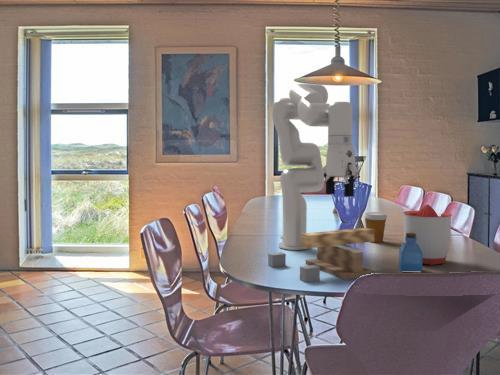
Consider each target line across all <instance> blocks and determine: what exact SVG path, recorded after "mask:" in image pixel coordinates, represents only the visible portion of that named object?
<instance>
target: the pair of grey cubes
mask: <svg viewBox="0 0 500 375" xmlns="http://www.w3.org/2000/svg"><path fill="white" fill-rule="evenodd" d="M286 256H287V255H286V253H285V252H282V251H280V252H279V251H278V252H271V253H268V256H267V258H268V262H267V265H268V267H271V268H277V267H285V266H286V265H287V264H286V259H287V257H286ZM320 273H321V270H320V267H319V266H316V265H302V266H301V265H300V266H299V280H300V281H301V282H304V283H311V282H316V281H320V279H321V278H320V277H321V276H320V275H321V274H320Z"/></svg>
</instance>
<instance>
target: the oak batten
mask: <svg viewBox="0 0 500 375" xmlns="http://www.w3.org/2000/svg"><path fill="white" fill-rule="evenodd" d="M373 241H374V229H371V228H366V227H359V228H350V229H347V228H346V229H337V230H328V231H327V230H326V231H315V232H306V233H303V234H301V246H302V247H305V248H308V249H309V250H310V249H316V248H318V247H328V246H337V245H351V244H352V245H354V244H362V243H372V242H373ZM308 249H307V250H308Z"/></svg>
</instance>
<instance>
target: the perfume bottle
mask: <svg viewBox="0 0 500 375" xmlns="http://www.w3.org/2000/svg"><path fill="white" fill-rule="evenodd" d="M416 239H417V238H416V233H406V237H405V240H406V243H404V242H402V244H401V246H400V247H399V249H398V269H399V271H400V272H401V271H422V272H423V264H422V252H421V250H420V248H419V246H418V244H417V243H415V241H416Z"/></svg>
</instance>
